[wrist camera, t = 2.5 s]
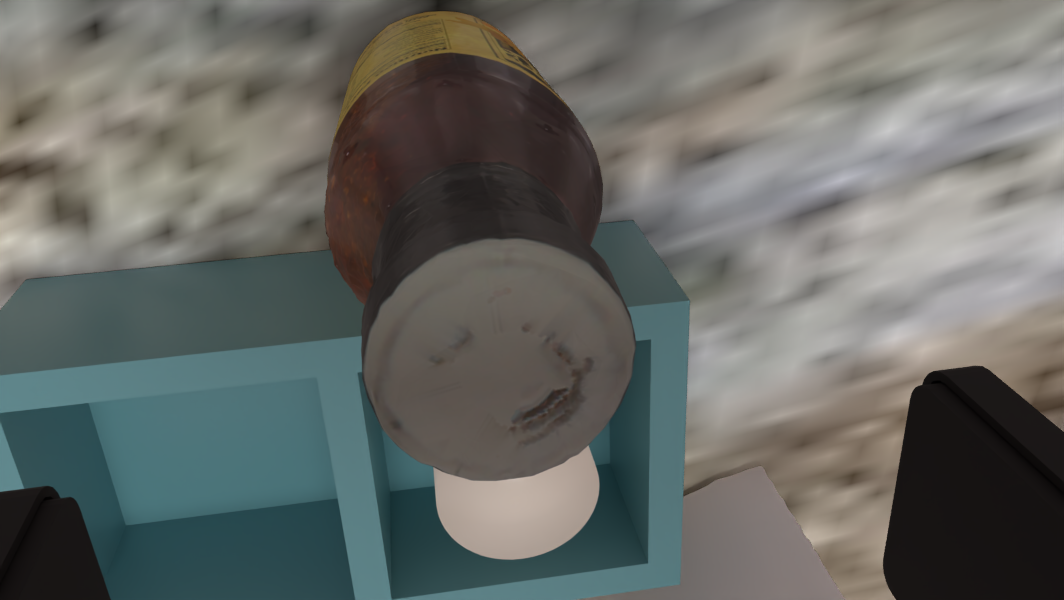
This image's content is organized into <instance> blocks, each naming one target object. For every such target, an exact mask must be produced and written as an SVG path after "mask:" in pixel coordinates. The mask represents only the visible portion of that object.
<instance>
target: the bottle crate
mask: <svg viewBox="0 0 1064 600" xmlns="http://www.w3.org/2000/svg"><path fill="white" fill-rule="evenodd" d="M591 247H592V248H593V249H594V250H595V251H596V252H597V253H598V254H599V255H600V256H601V257H602V258H603V259H604V260H605V262H606V264H607V266H608V267H609V269H610V271H611V273H612V275H613V277H614V279H615V281H616V284H617V286H618V288H619V290H620V293H621V295H622V297H623V299H624V302H625V304H626V306H627V308H628V310H629V313H630V315H631V319H632V324H633V328H634V332H635V338H636V349H635V356H634V364H633V373H632V377H631V380H630V383H629V387H628V389H627V391H626V394H625V396H624V398H623V401H622V403H621V405H620V406H619V408H618V409H617V411H616V412H615V414H614V415H613V417H612V418H611V419H610V421H609V422H608V424H607V425H606V427H605V428H604V429H603V430H602V431H601V432H600V433H599V434H598V435H597V436H596V437H595V438H594V439H593V441H592V442H591V443H590V444H589V448H590V451H591V454H592V457H593V460H594V462H595V465H596V468H597V472H598V476H599V495H598V500H597V503H596V506H595V508H594V511H593V513H592V515H591V516H590V518H589V520H588V521H587V522H586V524H585V525H584V526H583V527H582V529H581V530H580V531H579V532H578V533H577V534H576V535H574V536H573V537H572V538H571V539H570V540H568V541H567V542H565V543H564V544H562V545H561V546H559V547H557V548H555V549H553V550H551V551H549V552H546V553H544V554H541V555H537V556H534V557H529V558H524V559H514V560H508V559H495V558H490V557H485V556H482V555H479V554H476V553H474V552H472V551H470V550H468V549H466V548H464V547H463V546H461V545H460V544H458V543H457V542H456V541H455V540H454V539H453V538H452V537H451V536H450V535H449V534H448V532H447V531H446V530H445V528H444V526H443V525H442V523H441V521H440V518H439V515H438V511H437V506H436V495H435V483H434V470H433V467H432V466H429V465H426V464H422V463H420V462H418V461H417V460H415V459H414V458H412V457H411V456H409V455H408V454H407V453H405V452H404V451H403V450H402V449H400V448H399V447H398V446H397V445H396V444H395V443H394V442H393V441H392V440H391V439H390V437H389V436H388V435H387V434H386V433H385V432H384V430H383V429H382V428H381V426H380V424H379V422H378V419H377V417H376V415H375V413H374V411H373V408H372V406H371V404H370V402H369V400H368V397H367V394H366V390H365V387H364V383H363V379H362V357H361V343H362V336H361V329H362V316H363V309H364V306H365V305H364V304H363V303H361V302H360V301H359V300H358V299H357V297H356V295H355V294H354V293H353V291H352V289H351V288H350V287H349V285H348V284H347V283H346V282H345V281H344V279H343V277H342V276H341V274H340V272H339V271H338V269H337V268H336V267H335V266H334V259H333V255H332V252H331V250H324V251H314V252H304V253H293V254H283V255H273V256H263V257H253V258H242V259H232V260H222V261H212V262H201V263H191V264H181V265H171V266H161V267H150V268H140V269H130V270H120V271H109V272H99V273H89V274H79V275H68V276H58V277H48V278H38V279H28V280H26V281H25V282H24V283H23V284H22V285H21V286H20V288H19V289H18V290H17V291H16V292H15V293H14V295H13V296H12V297H11V298H10V299H9V300H8V302H7V303H6V304H5V305H4V306H3V307H2V309H1V310H0V492H2V491H10V490H18V489H26V488H33V487H41V486H51V487H53V488H54V489H55V490H56V491H57V492H58V494H59V496H60V498H65V497H72V498H74V499H75V500H76V501H77V503H78V505H79V507H80V510H81V513H82V516H83V519H84V522H85V525H86V528H87V531H88V534H89V537H90V540H91V543H92V545H93V548H94V551H95V554H96V557H97V560H98V563H99V566H100V569H101V572H102V575H103V578H104V581H105V584H106V587H107V590H108V593H109V596H110V599H111V600H577V599H584V598H591V597H597V596H604V595H611V594H618V593H625V592H632V591H639V590H646V589H653V588H660V587H666V586H673V585H680V575H681V546H682V516H683V487H684V457H685V428H686V399H687V369H688V340H689V310H690V300H689V299H688V297H687V296H686V294H685V293H684V291H683V290H682V289H681V287H680V286H679V284H678V283H677V282H676V280H675V279H674V277H673V276H672V274H671V273H670V272H669V270H668V269H667V267H666V266H665V265H664V263H663V262H662V260H661V259H660V257H659V256H658V255H657V253H656V252H655V250H654V249H653V248H652V246H651V245H650V243H649V242H648V240H647V239H646V238H645V236H644V235H643V233H642V232H641V231H640V229H639V228H638V226H637V225H636V223H635V222H634V221H633V220H631V221H621V222H611V223H600V224H598V227H597V230H596V233H595V236H594V238H593V241H592V243H591Z"/></svg>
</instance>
